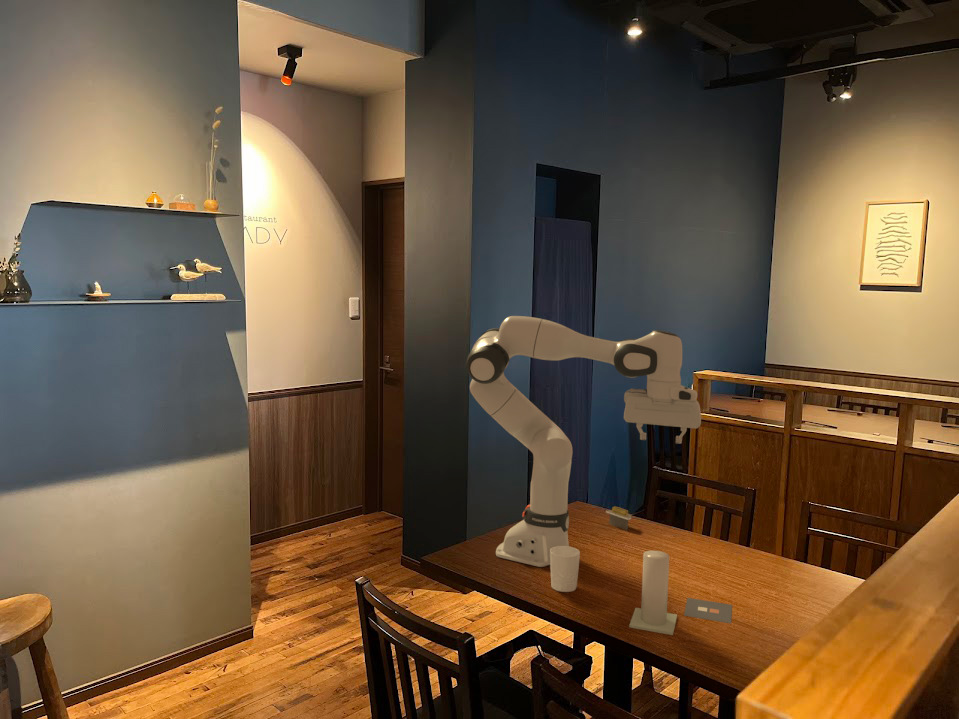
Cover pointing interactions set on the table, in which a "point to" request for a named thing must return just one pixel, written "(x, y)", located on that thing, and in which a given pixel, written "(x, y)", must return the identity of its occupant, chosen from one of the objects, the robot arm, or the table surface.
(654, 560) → the ceramic canister
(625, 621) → the table surface
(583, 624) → the table surface
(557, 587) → the white cup
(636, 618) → the coaster pad
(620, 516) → the platform
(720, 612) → the mat
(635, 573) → the table surface
